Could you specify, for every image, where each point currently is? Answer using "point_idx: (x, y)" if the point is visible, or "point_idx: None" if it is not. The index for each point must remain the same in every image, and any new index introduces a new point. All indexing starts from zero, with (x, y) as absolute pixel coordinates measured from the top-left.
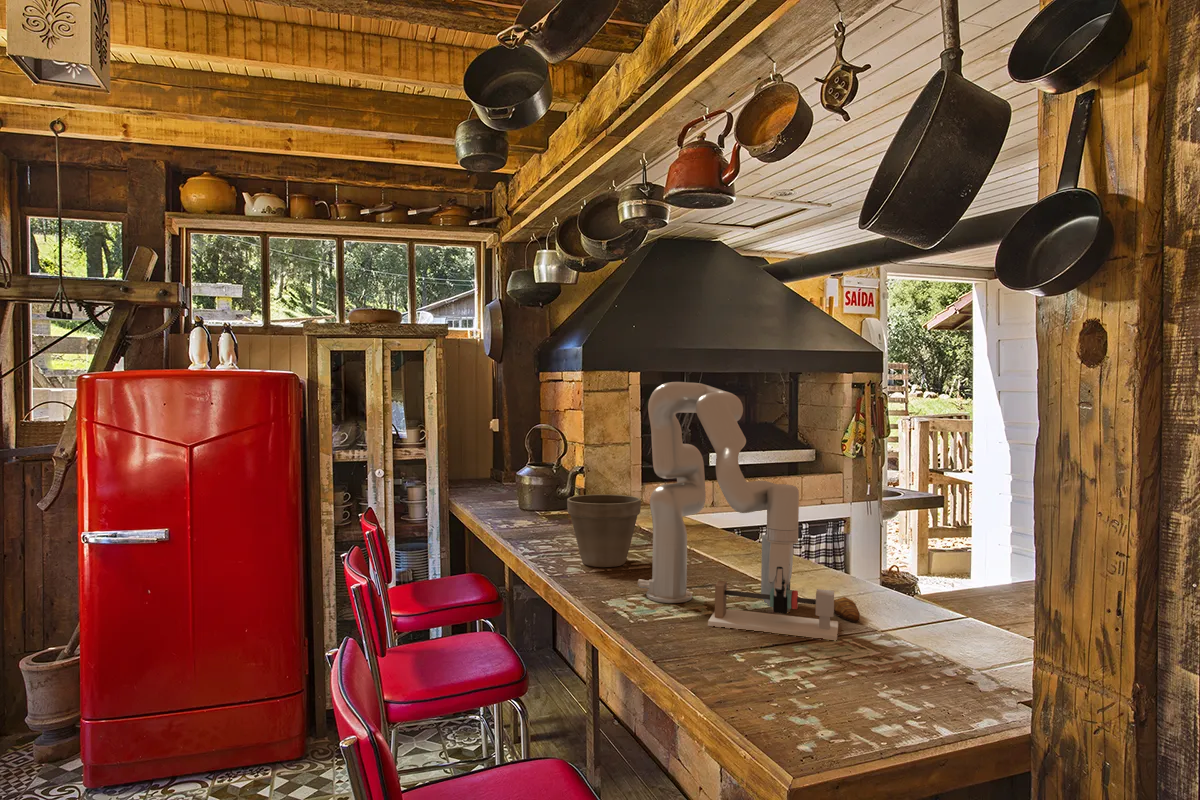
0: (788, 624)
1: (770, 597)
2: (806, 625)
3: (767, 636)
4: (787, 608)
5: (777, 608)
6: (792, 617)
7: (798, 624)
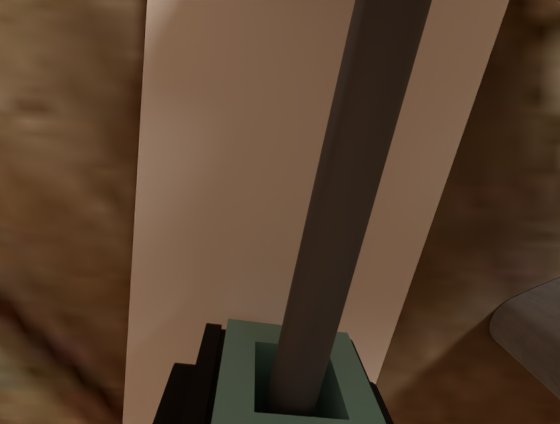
0: None
1: (217, 387)
2: None
3: (87, 229)
4: None
5: (172, 371)
6: None
7: None
